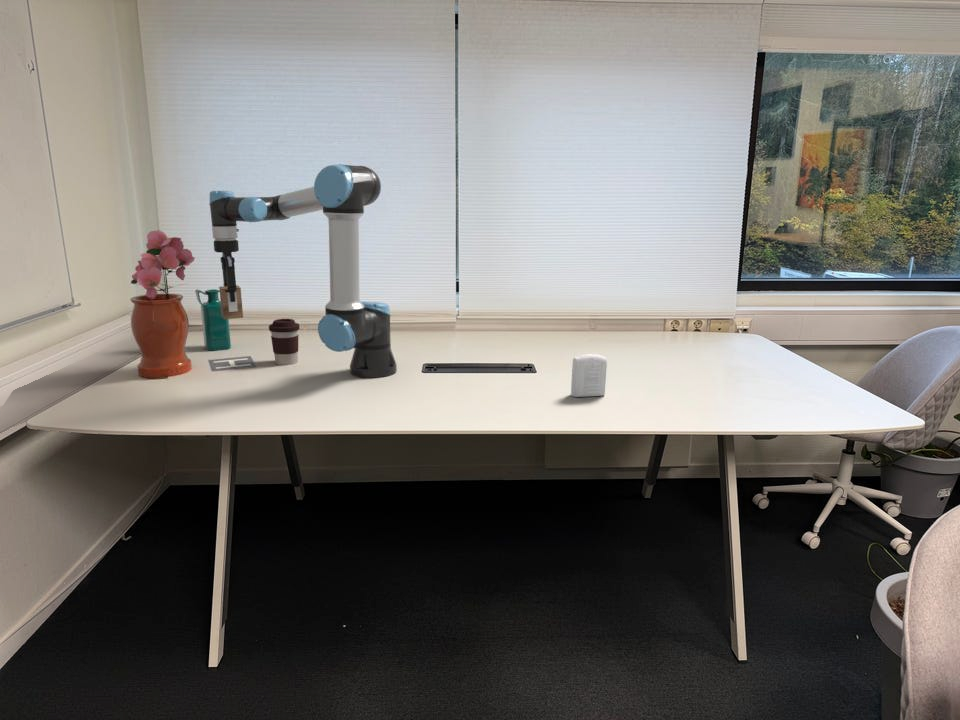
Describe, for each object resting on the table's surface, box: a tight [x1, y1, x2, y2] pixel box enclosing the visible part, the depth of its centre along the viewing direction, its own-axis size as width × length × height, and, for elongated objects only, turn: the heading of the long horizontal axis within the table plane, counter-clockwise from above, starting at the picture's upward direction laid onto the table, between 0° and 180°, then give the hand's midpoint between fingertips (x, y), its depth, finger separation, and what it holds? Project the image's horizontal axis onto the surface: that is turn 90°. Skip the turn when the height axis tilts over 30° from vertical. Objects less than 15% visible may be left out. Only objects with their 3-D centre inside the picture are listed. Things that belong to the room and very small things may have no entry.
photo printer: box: [570, 353, 608, 398], centre depth 194 cm, size 10×4×12 cm, turn 103°
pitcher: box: [195, 288, 232, 352], centre depth 244 cm, size 10×8×22 cm
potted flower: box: [130, 229, 195, 379], centre depth 211 cm, size 19×25×45 cm
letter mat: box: [208, 355, 257, 372], centre depth 225 cm, size 16×14×1 cm
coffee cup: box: [268, 318, 301, 366], centre depth 225 cm, size 10×10×15 cm
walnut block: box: [218, 285, 244, 320], centre depth 221 cm, size 6×6×10 cm
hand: (232, 309), depth 221 cm, fingers closed on walnut block, 6 cm apart
